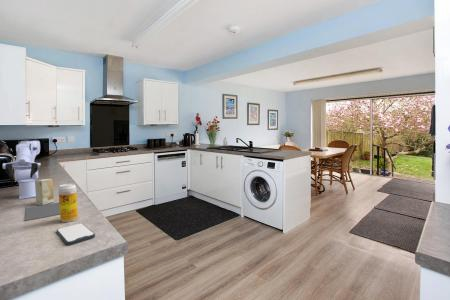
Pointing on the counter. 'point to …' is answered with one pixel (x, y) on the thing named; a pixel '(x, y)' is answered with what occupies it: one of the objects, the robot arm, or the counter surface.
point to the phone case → (75, 234)
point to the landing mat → (42, 211)
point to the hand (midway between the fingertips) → (21, 176)
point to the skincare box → (44, 191)
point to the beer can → (68, 202)
